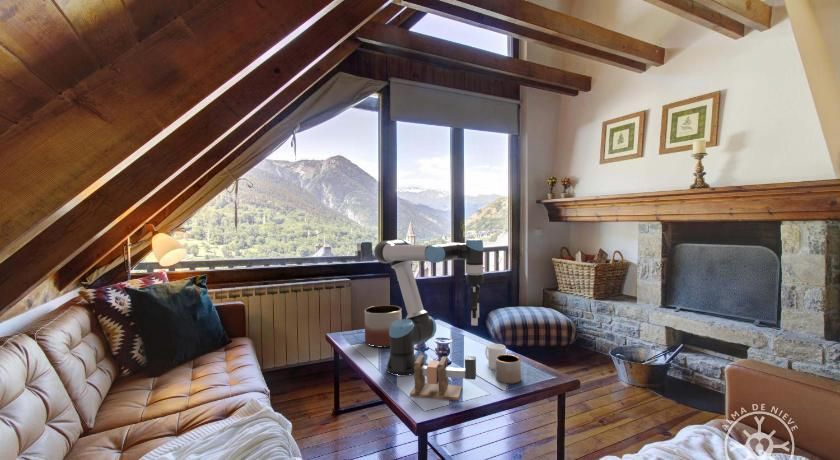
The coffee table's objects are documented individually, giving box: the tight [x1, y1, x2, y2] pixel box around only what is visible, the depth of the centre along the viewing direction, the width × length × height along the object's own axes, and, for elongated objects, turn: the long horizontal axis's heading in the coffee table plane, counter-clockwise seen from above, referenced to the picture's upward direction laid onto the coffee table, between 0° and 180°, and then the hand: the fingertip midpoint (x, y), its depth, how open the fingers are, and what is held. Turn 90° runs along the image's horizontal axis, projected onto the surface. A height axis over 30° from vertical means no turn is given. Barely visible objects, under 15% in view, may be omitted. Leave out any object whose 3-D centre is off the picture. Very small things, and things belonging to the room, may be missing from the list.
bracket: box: [409, 354, 463, 401], centre depth 165 cm, size 20×11×14 cm, turn 76°
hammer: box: [421, 355, 477, 380], centre depth 163 cm, size 24×4×8 cm, turn 76°
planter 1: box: [364, 304, 403, 348], centre depth 233 cm, size 22×22×20 cm
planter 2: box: [495, 354, 522, 385], centre depth 176 cm, size 11×11×10 cm
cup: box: [485, 343, 507, 371], centre depth 192 cm, size 8×12×10 cm
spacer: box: [426, 360, 440, 384], centre depth 165 cm, size 4×7×7 cm, turn 166°
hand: (475, 321), depth 177 cm, fingers open, 13 cm apart
